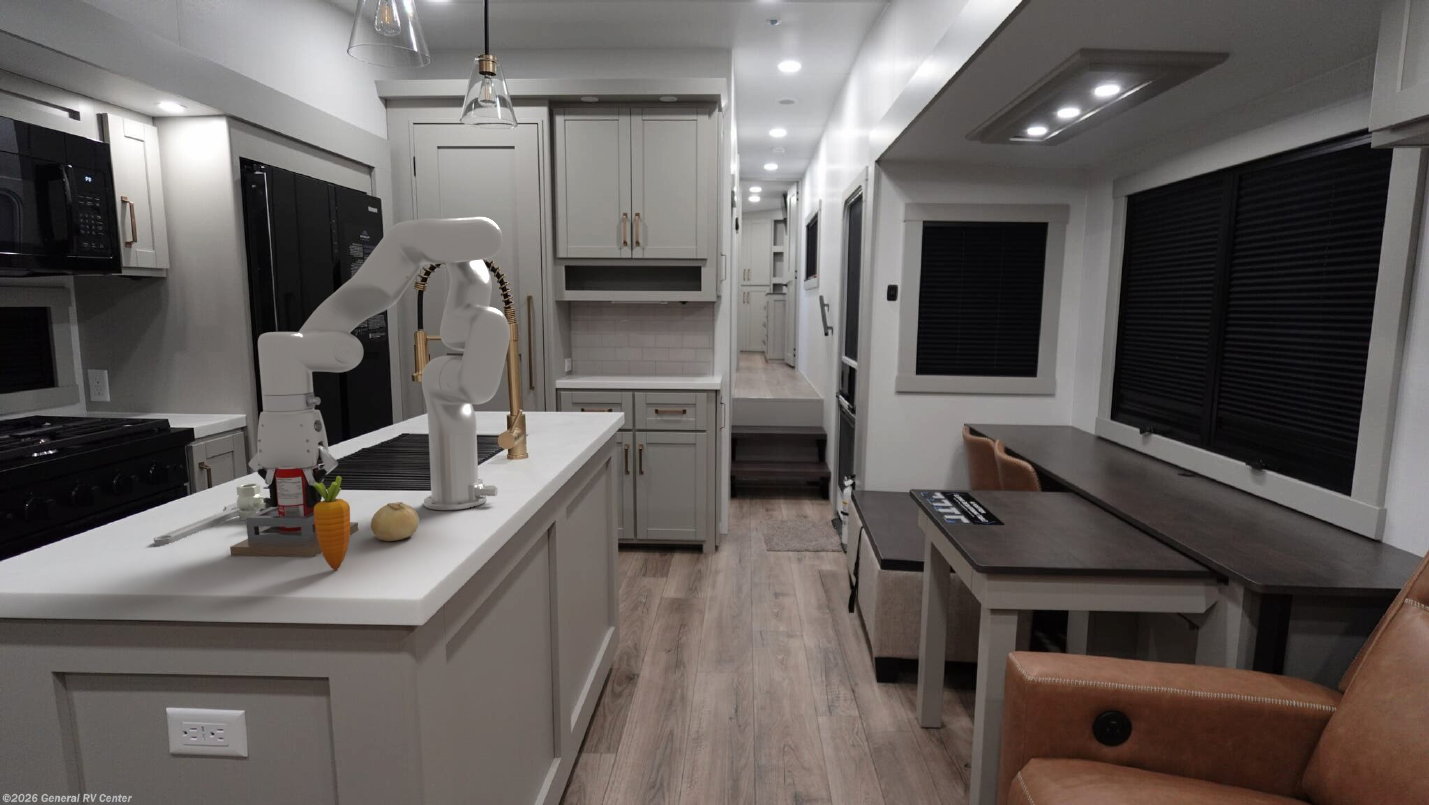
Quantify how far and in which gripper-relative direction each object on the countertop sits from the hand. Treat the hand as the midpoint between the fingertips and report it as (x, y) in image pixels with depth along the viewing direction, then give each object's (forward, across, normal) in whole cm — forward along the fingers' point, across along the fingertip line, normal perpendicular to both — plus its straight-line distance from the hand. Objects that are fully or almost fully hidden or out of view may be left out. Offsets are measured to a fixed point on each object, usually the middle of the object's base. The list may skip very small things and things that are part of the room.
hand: (296, 504), depth 120 cm
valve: (+7, +15, -12) cm, 21 cm away
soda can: (+5, 0, 0) cm, 5 cm away
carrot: (+7, -14, +13) cm, 20 cm away
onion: (+7, -16, -3) cm, 18 cm away
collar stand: (+7, 0, 0) cm, 7 cm away
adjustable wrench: (+7, +24, -10) cm, 27 cm away
